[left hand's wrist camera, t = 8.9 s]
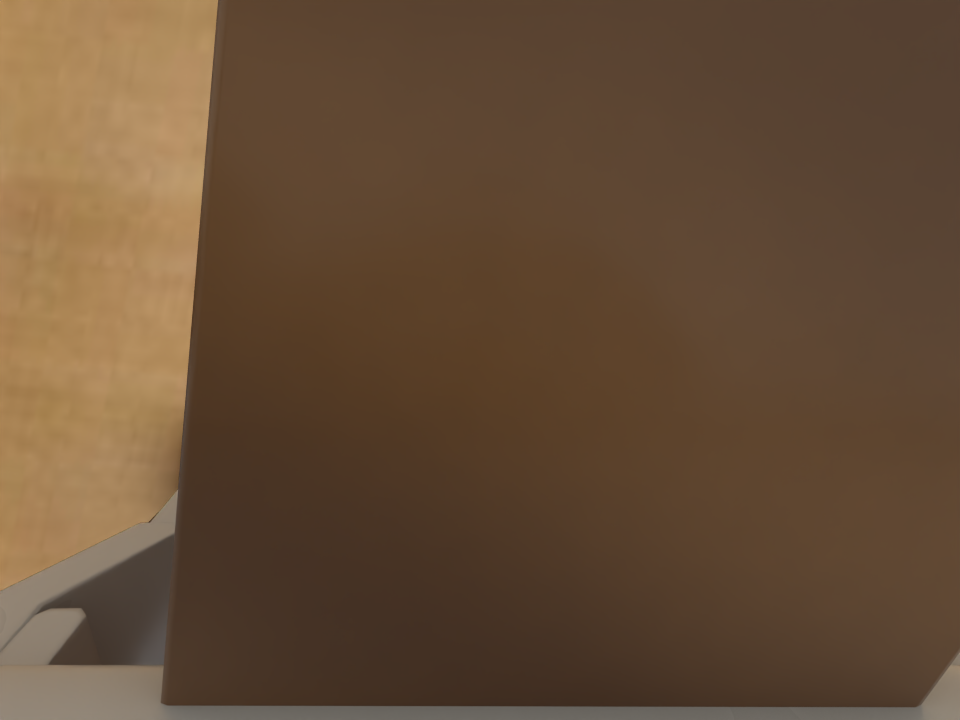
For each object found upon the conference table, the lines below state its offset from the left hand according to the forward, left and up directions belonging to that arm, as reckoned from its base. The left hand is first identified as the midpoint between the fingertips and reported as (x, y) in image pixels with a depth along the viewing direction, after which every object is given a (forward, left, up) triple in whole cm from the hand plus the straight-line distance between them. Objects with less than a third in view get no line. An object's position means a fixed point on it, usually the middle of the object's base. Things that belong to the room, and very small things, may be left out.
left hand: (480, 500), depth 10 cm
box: (+4, +6, -6) cm, 9 cm away
